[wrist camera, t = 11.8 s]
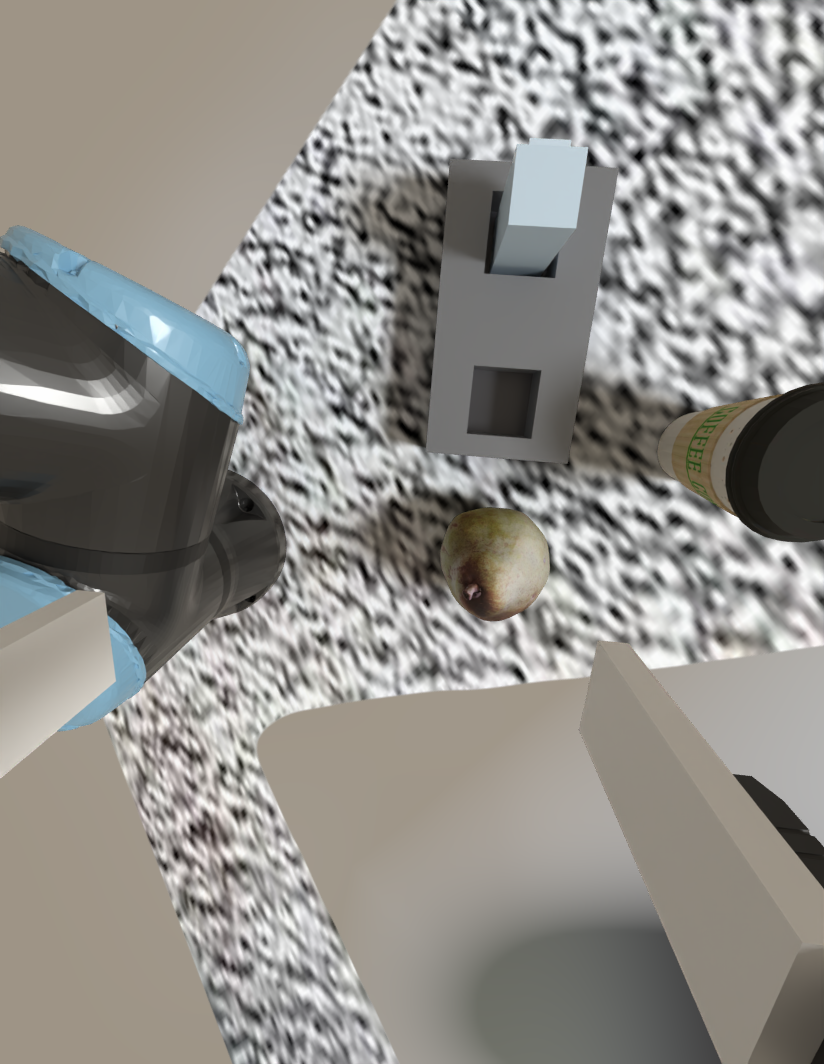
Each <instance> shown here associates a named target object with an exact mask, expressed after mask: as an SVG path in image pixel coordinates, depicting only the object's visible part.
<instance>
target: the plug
mask: <svg viewBox="0 0 824 1064" xmlns="http://www.w3.org/2000/svg"><path fill="white" fill-rule="evenodd" d="M587 153H588V147H571V140H561V139H540V138H530V140H529V143H528V144H517V147H516V150H515V154H514V157H513V161H512V164H511V167H510V171H509V174H508V178H507V181H506V185H505V188H504V192H503V195H502V199H501V202H500V206H499V209H498V212H497V216H496V219H495V224H494V233H493V243H492V252H491V262H490V271H489V274H499V275H514V276H529V277H540V276H541V274H542V273H543V272H544V271H545V269H546V268H547V267H548V265H549V264H550V263H551V261H552V260H553V259H554V257H555V256H556V255H557V253H558V252H559V251H560V249H561V248H562V247H563V245H564V244H565V243H566V241H567V240H568V239H569V237H570V236H571V235H572V233H573V232H574V231H575V229H576V226H577V219H578V213H579V206H580V199H581V193H582V186H583V179H584V173H585V166H586V159H587Z"/></svg>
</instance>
